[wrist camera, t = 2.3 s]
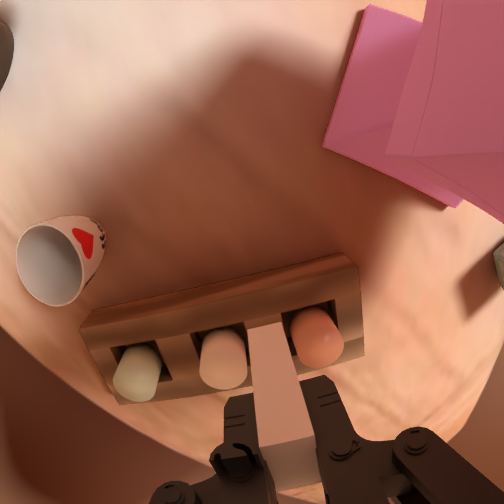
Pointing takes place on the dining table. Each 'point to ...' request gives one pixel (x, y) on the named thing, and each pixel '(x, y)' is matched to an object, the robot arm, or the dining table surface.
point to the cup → (59, 257)
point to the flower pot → (499, 263)
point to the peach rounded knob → (223, 359)
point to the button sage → (138, 373)
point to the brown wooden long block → (225, 321)
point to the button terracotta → (315, 337)
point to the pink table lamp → (428, 101)
